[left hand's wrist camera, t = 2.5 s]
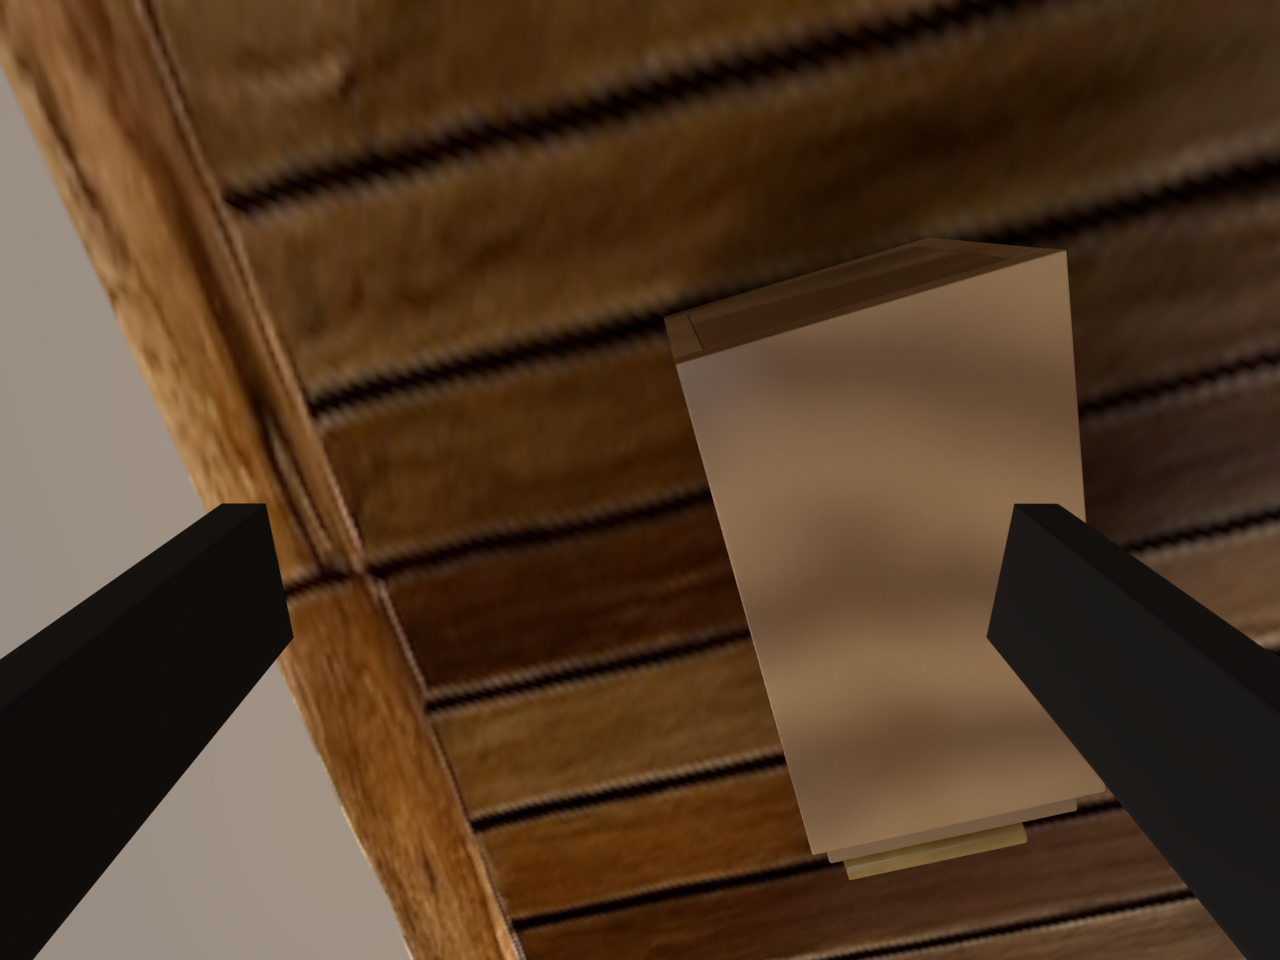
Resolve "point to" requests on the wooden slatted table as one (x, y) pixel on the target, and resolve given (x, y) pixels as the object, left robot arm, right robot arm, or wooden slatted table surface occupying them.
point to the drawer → (943, 842)
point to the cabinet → (891, 520)
